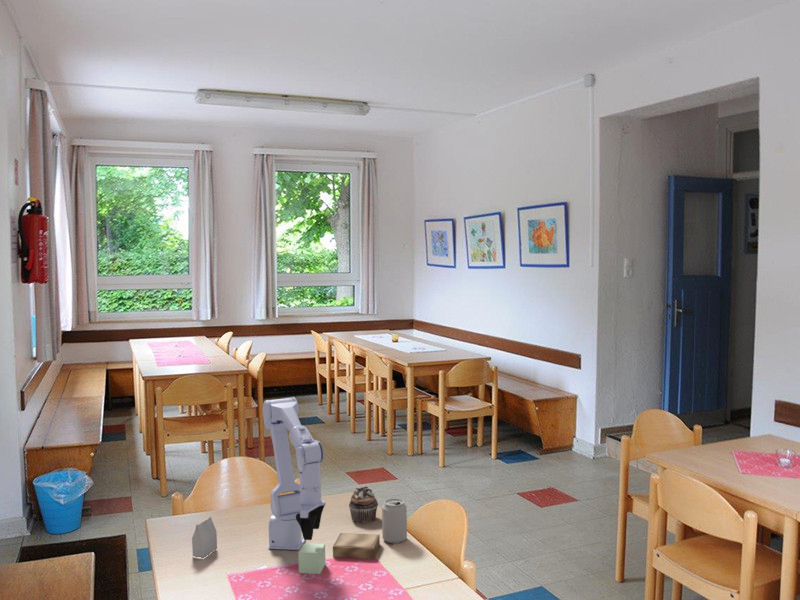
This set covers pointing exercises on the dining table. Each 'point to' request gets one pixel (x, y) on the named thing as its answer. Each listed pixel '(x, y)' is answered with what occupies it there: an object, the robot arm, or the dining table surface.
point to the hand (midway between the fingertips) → (311, 533)
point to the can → (394, 521)
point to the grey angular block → (204, 538)
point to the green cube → (311, 558)
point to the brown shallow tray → (356, 545)
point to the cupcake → (363, 505)
